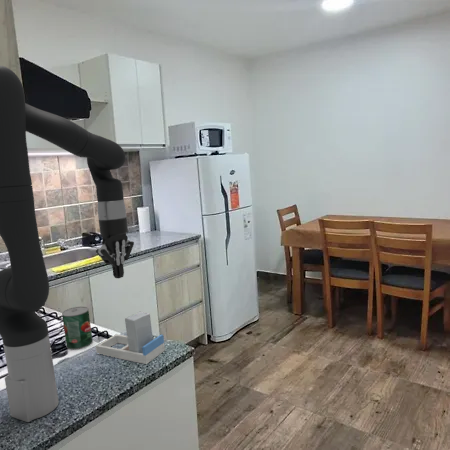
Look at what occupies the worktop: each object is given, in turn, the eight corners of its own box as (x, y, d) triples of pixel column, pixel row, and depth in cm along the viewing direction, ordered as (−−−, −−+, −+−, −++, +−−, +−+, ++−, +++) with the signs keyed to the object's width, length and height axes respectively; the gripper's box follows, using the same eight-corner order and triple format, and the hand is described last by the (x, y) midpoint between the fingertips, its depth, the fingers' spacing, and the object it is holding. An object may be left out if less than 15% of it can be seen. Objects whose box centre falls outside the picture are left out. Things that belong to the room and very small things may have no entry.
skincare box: (144, 349, 119) (140, 310, 117) (154, 352, 116) (150, 313, 114) (128, 357, 114) (124, 318, 112) (138, 361, 111) (134, 320, 109)
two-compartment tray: (146, 364, 109) (144, 347, 108) (96, 353, 118) (94, 338, 117) (164, 350, 117) (163, 334, 116) (117, 341, 125) (115, 326, 125)
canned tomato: (95, 344, 124) (90, 311, 123) (68, 352, 120) (63, 317, 119) (89, 336, 131) (85, 304, 129) (64, 343, 127) (59, 310, 126)
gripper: (104, 220, 103) (111, 285, 105) (138, 213, 114) (144, 272, 116) (84, 220, 106) (91, 283, 109) (119, 214, 118) (125, 270, 120)
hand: (119, 277), depth 113 cm, fingers closed
